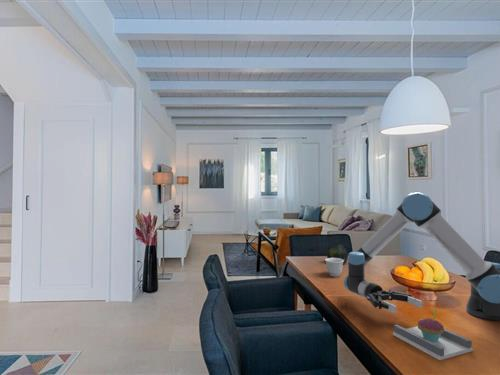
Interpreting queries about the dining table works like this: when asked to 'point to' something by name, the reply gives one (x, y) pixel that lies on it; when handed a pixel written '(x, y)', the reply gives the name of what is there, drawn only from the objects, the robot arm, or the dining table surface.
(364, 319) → the dining table surface
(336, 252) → the squash
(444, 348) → the rail board
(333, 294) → the dining table surface
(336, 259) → the teacup
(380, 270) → the dining table surface
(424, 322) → the cupcake
